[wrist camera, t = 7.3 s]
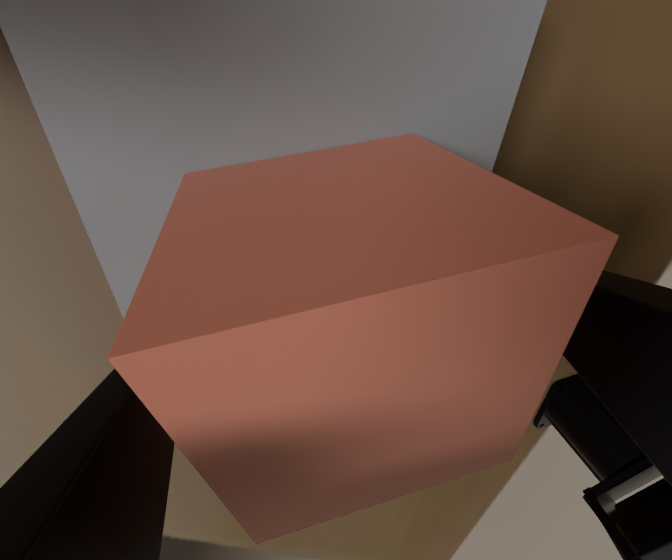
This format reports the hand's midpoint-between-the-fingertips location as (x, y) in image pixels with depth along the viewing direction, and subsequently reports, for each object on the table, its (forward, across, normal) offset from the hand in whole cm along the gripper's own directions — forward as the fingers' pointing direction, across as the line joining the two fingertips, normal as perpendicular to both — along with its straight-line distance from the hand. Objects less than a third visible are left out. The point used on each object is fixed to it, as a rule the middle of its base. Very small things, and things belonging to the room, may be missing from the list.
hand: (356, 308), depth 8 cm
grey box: (+7, +1, 0) cm, 7 cm away
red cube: (+3, 0, 0) cm, 3 cm away
